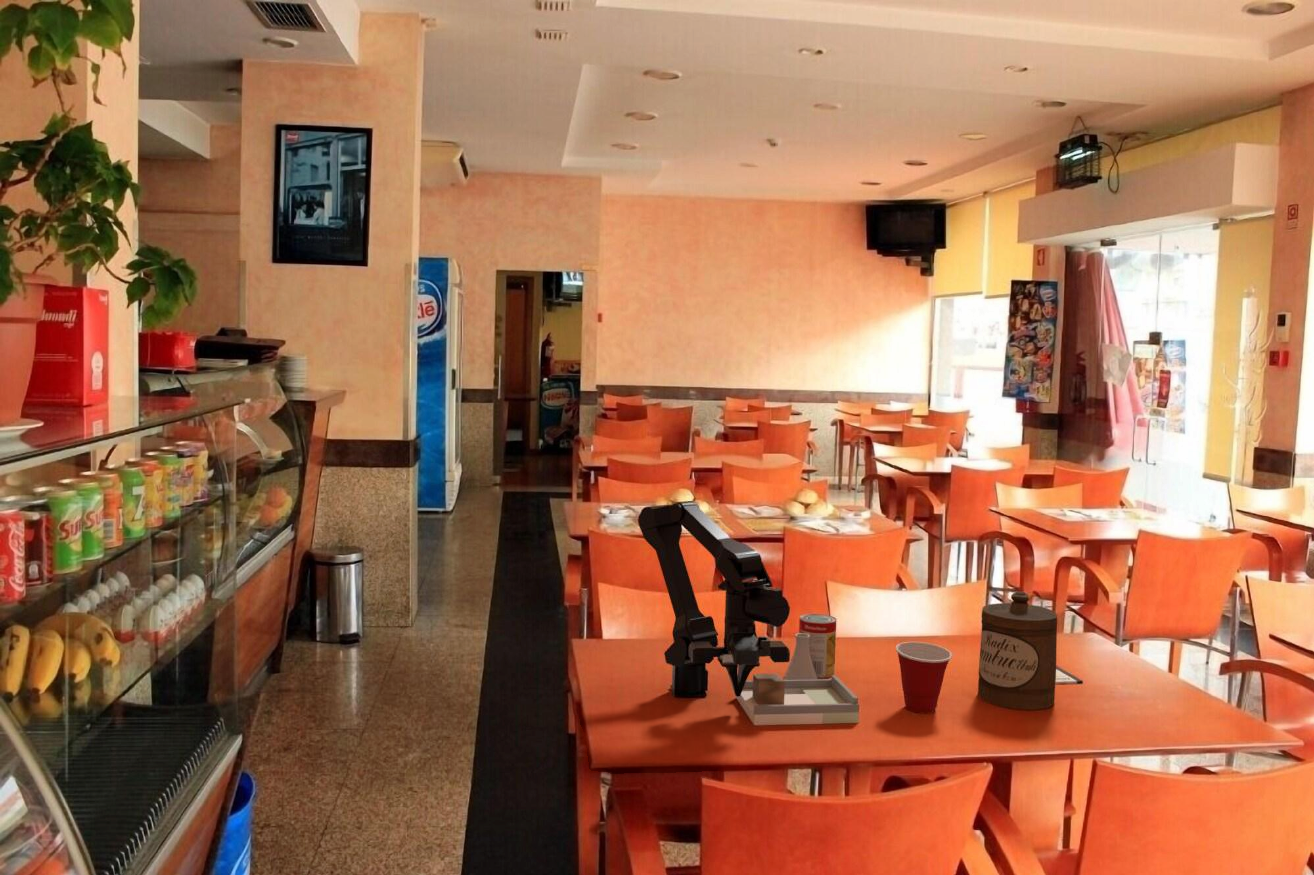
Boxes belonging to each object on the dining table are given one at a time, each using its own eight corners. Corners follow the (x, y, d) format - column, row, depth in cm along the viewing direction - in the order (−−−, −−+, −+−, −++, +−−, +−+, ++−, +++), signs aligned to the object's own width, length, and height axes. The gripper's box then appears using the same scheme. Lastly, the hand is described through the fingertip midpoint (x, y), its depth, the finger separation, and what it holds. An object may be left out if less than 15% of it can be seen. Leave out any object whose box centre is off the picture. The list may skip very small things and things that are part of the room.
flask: (817, 688, 232) (818, 640, 231) (781, 685, 233) (783, 637, 232) (819, 678, 239) (820, 631, 238) (785, 675, 240) (786, 629, 239)
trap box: (754, 725, 208) (755, 701, 208) (736, 697, 224) (736, 675, 223) (858, 722, 211) (859, 699, 211) (833, 695, 227) (834, 674, 226)
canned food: (833, 668, 246) (835, 614, 245) (835, 679, 238) (837, 623, 237) (797, 666, 247) (799, 612, 246) (798, 677, 239) (800, 621, 238)
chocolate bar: (1041, 657, 257) (1082, 680, 240) (1041, 661, 258) (1082, 685, 240) (1004, 657, 256) (1043, 681, 238) (1004, 662, 256) (1043, 686, 238)
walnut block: (758, 704, 214) (759, 681, 213) (752, 696, 219) (753, 673, 218) (784, 704, 214) (784, 681, 214) (777, 696, 219) (778, 673, 219)
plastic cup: (917, 721, 213) (920, 659, 212) (881, 704, 222) (884, 644, 221) (961, 713, 218) (964, 653, 217) (924, 697, 227) (926, 639, 226)
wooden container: (963, 696, 229) (968, 589, 227) (1004, 683, 238) (1009, 581, 237) (1028, 715, 218) (1034, 604, 216) (1068, 701, 227) (1074, 594, 225)
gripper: (698, 627, 205) (696, 710, 206) (798, 625, 207) (795, 708, 209) (689, 612, 216) (686, 691, 217) (783, 611, 218) (781, 690, 220)
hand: (737, 695), depth 215 cm, fingers closed
